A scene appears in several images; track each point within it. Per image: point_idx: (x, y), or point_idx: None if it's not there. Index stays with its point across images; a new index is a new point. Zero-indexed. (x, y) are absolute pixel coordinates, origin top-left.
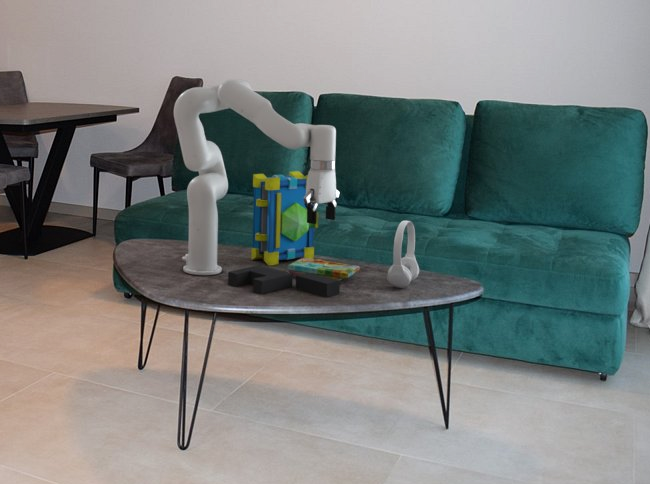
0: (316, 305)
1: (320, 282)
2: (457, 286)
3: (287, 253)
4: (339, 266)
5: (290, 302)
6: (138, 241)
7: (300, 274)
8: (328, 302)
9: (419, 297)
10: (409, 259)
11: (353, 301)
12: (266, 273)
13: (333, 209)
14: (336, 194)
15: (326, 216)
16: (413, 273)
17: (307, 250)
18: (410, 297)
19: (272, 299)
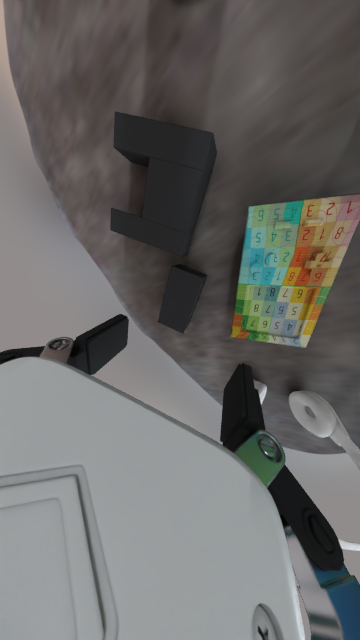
0: (131, 312)
1: (160, 312)
2: (294, 437)
3: None
4: (287, 315)
5: (122, 283)
6: None
7: (182, 270)
8: (148, 321)
9: (220, 398)
10: (319, 430)
11: (167, 343)
12: (152, 207)
13: (222, 432)
14: (312, 635)
15: (237, 372)
16: (293, 413)
17: None
18: (215, 391)
19: (117, 258)
